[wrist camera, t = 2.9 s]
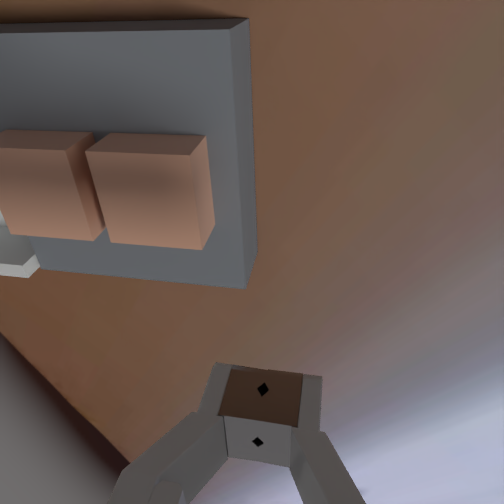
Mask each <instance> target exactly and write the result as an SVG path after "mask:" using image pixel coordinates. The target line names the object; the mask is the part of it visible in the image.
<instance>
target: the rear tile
mask: <svg viewBox="0 0 504 504" xmlns="http://www.w3.org/2000/svg"><path fill="white" fill-rule="evenodd" d="M94 144H96V143H95V139H94V136H93V132H72V131H40V130H5V131H3V132H0V211H1V213H2V215H3V218H4V220H5V222H6V224H7V226H8V229H9V231H10V233H11V234H14V235H26V236H38V237H50V238H62V239H74V240H87V241H94V240H95V239H96V238H97V237H98V236H99V235H100V234H101V232H102V231H103V230H104V229H105V228H106V224H105V220H104V217H103V213H102V210H101V206H100V203H99V199H98V196H97V192H96V189H95V185H94V182H93V178H92V175H91V171H90V168H89V164H88V161H87V157H86V154H85V151H86V150H87V149H89V148H90V147H91V146H93V145H94Z"/></svg>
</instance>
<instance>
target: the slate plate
mask: <svg viewBox="0 0 504 504" xmlns="http://www.w3.org/2000/svg"><path fill="white" fill-rule="evenodd" d="M5 130H40V131H72V132H93V136H94V139H95V143H97V142H98V141H100V140H101V139H103V138H104V137H105V136H107V135H108V134H109V133H137V134H170V135H202V136H206V141H207V150H208V160H209V169H210V179H211V188H212V198H213V207H214V217H215V226H214V228H213V230H212V232H211V234H210V236H209V238H208V240H207V242H206V244H205V246H204V248H203V249H202V250H195V249H183V248H171V247H159V246H147V245H135V244H123V243H111V241H110V238H109V234H108V231H107V227H106V228H105V229H104V230H103V231H102V232H101V234H100V235H99V236H98V237H97V238H96V239H95V240H94V241H87V240H74V239H62V238H50V237H38V236H28V238H29V241H30V243H31V245H32V248H33V250H34V252H35V255H36V257H37V259H38V262H39V264H40V267H41V269H46V270H56V271H66V272H76V273H86V274H97V275H107V276H117V277H127V278H137V279H147V280H157V281H167V282H177V283H187V284H197V285H208V286H218V287H228V288H238V289H246V287H247V283H248V280H249V277H250V274H251V271H252V268H253V265H254V261H255V258H256V255H257V252H258V250H257V223H256V196H255V169H254V141H253V114H252V87H251V60H250V32H249V18H240V19H196V20H151V21H106V22H61V23H17V24H0V132H3V131H5Z"/></svg>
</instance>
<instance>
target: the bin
mask: <svg viewBox="0 0 504 504" xmlns="http://www.w3.org/2000/svg"><path fill="white" fill-rule="evenodd" d="M39 267H40V264H39V262H38V259H37V257H36V255H35V252H34V250H33V248H32V245H31V243H30V241H29V238H28V236H26V235H14V234H11V233H10V231H9V229H8V226H7V224H6V222H5V220H4V218H3V215H2V213H1V211H0V275H5V276H15V277H24V278H29V277H30V276H31V275H32V274H33V273H34V272H35V271H36V270H37V269H38V268H39Z"/></svg>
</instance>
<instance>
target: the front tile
mask: <svg viewBox="0 0 504 504" xmlns="http://www.w3.org/2000/svg"><path fill="white" fill-rule="evenodd" d="M85 154H86V157H87V161H88V164H89V168H90V171H91V175H92V178H93V182H94V185H95V189H96V192H97V196H98V199H99V203H100V206H101V210H102V213H103V217H104V220H105V224H106V227H107V231H108V234H109V238H110V241H111V243H123V244H135V245H147V246H159V247H171V248H183V249H195V250H202V249H203V248H204V246H205V244H206V242H207V240H208V238H209V236H210V234H211V232H212V230H213V228H214V226H215V217H214V207H213V198H212V188H211V179H210V169H209V160H208V150H207V141H206V136H202V135H170V134H137V133H109V134H108V135H107V136H105V137H104V138H103V139H101V140H100V141H98V142H97V143H96V144H94V145H93V146H91V147H90V148H89V149H87V150H86V151H85Z"/></svg>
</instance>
